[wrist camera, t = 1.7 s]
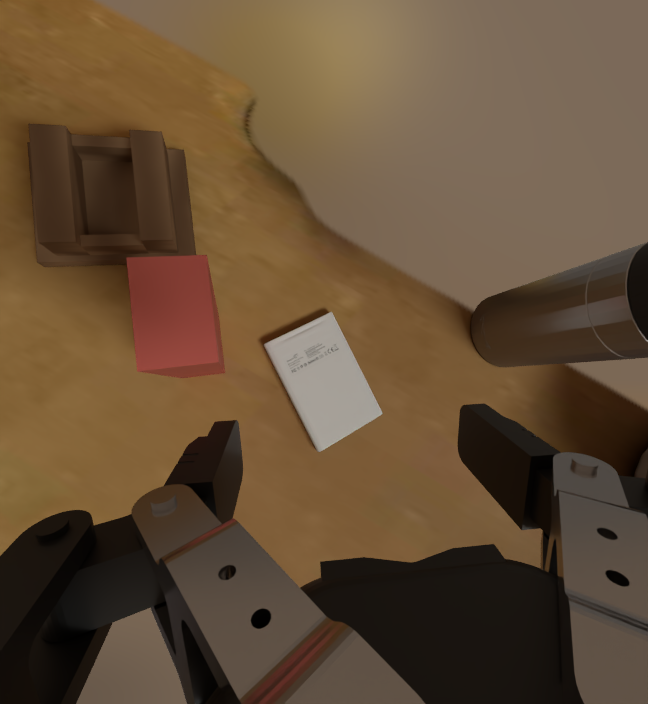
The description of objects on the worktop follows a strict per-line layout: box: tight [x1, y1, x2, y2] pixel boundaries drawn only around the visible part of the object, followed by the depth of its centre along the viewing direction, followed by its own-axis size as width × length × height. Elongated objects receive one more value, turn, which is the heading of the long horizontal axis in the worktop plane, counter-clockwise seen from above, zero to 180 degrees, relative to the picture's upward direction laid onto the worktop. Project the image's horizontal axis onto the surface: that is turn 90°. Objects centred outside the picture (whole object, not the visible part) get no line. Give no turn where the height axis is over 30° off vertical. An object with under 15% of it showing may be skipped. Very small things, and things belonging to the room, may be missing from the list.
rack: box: [28, 124, 196, 267], centre depth 31 cm, size 13×11×4 cm
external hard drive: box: [263, 312, 382, 452], centre depth 36 cm, size 2×8×12 cm
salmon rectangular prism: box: [126, 255, 225, 378], centre depth 26 cm, size 4×6×16 cm, turn 8°
